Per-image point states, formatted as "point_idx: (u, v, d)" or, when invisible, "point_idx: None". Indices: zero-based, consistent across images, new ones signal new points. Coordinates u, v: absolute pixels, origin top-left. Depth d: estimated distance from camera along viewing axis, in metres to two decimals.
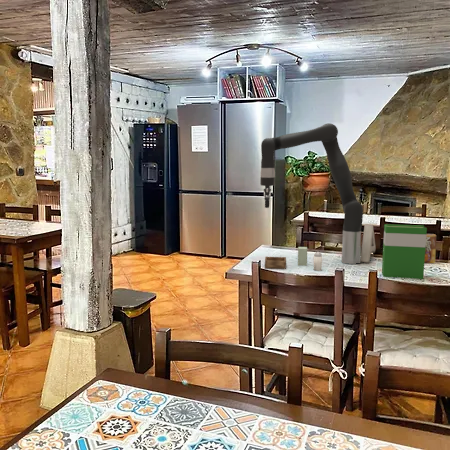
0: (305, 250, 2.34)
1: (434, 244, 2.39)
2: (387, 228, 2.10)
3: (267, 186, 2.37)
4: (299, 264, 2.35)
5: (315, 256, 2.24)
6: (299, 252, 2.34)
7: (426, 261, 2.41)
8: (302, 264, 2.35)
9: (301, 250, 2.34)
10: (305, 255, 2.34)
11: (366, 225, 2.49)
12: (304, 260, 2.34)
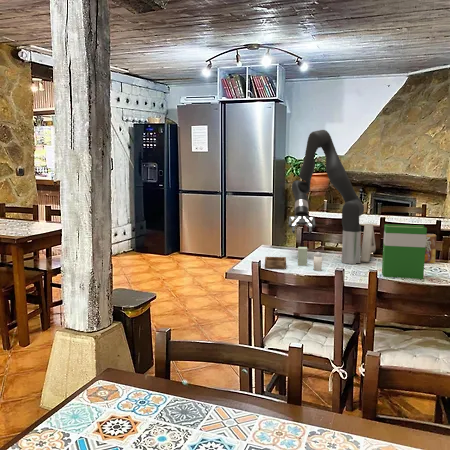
0: (305, 250, 2.34)
1: (434, 244, 2.39)
2: (387, 228, 2.10)
3: None
4: (299, 264, 2.35)
5: (315, 256, 2.24)
6: (299, 252, 2.34)
7: (426, 261, 2.41)
8: (302, 264, 2.35)
9: (301, 250, 2.34)
10: (305, 255, 2.34)
11: (366, 225, 2.50)
12: (304, 260, 2.34)
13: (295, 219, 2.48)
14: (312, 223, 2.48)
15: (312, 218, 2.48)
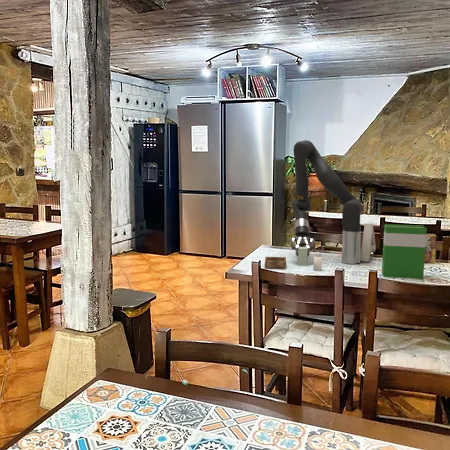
0: (305, 250, 2.34)
1: (434, 244, 2.39)
2: (387, 228, 2.10)
3: (295, 236, 2.43)
4: (299, 264, 2.35)
5: (315, 256, 2.24)
6: (299, 252, 2.34)
7: (426, 261, 2.41)
8: (302, 264, 2.35)
9: (301, 250, 2.34)
10: (305, 255, 2.34)
11: (366, 225, 2.50)
12: (304, 260, 2.34)
13: (296, 239, 2.40)
14: None
15: (312, 240, 2.39)
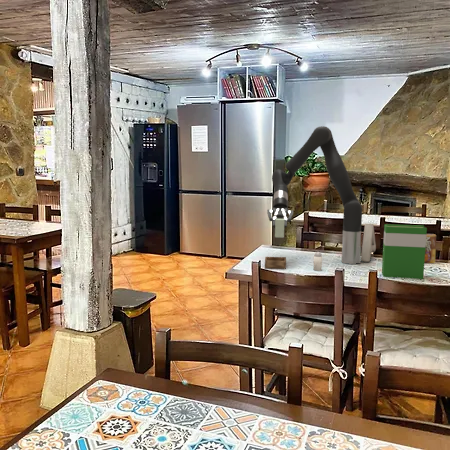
0: (282, 221, 2.28)
1: (434, 244, 2.39)
2: (387, 228, 2.10)
3: (273, 208, 2.37)
4: (276, 236, 2.30)
5: (315, 256, 2.24)
6: (276, 223, 2.29)
7: (426, 261, 2.41)
8: (279, 236, 2.30)
9: (278, 221, 2.28)
10: (282, 226, 2.29)
11: (366, 224, 2.51)
12: (281, 232, 2.29)
13: (274, 211, 2.35)
14: None
15: (290, 212, 2.34)
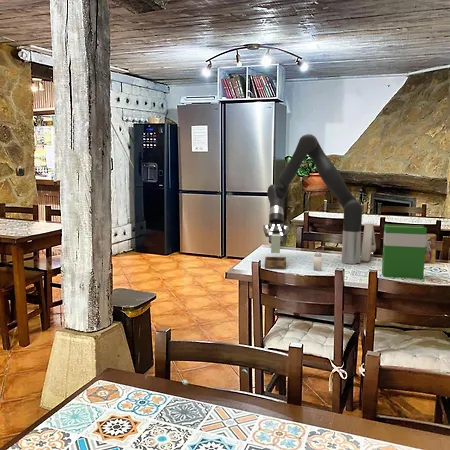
0: (278, 237, 2.28)
1: (434, 244, 2.39)
2: (387, 228, 2.10)
3: None
4: (272, 251, 2.30)
5: (315, 256, 2.24)
6: (272, 239, 2.29)
7: (426, 261, 2.41)
8: (275, 252, 2.29)
9: (274, 237, 2.28)
10: (278, 242, 2.29)
11: (366, 224, 2.51)
12: (277, 247, 2.29)
13: (270, 227, 2.35)
14: (285, 232, 2.34)
15: (286, 227, 2.34)
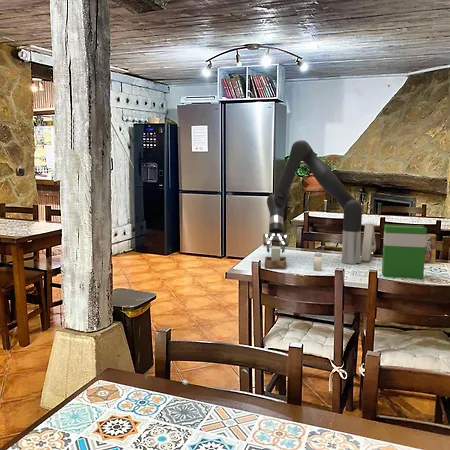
0: (278, 250, 2.29)
1: (434, 244, 2.39)
2: (387, 228, 2.10)
3: None
4: None
5: (315, 256, 2.24)
6: (272, 252, 2.30)
7: (426, 261, 2.41)
8: None
9: (274, 250, 2.29)
10: (278, 255, 2.30)
11: (366, 224, 2.51)
12: (277, 260, 2.30)
13: (269, 236, 2.36)
14: None
15: (286, 236, 2.35)
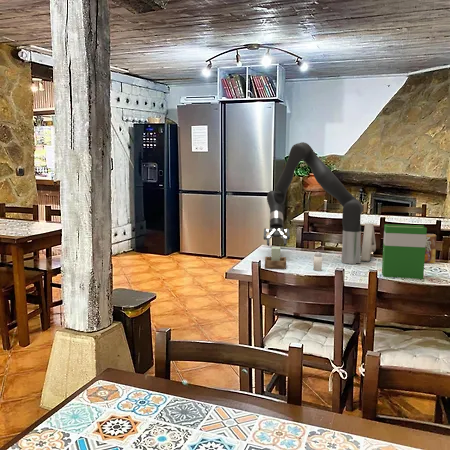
0: (278, 250, 2.29)
1: (434, 244, 2.39)
2: (387, 228, 2.10)
3: None
4: None
5: (315, 256, 2.24)
6: (272, 252, 2.30)
7: (426, 261, 2.41)
8: None
9: (274, 250, 2.29)
10: (278, 255, 2.30)
11: (366, 224, 2.52)
12: (277, 260, 2.30)
13: (270, 231, 2.48)
14: (287, 235, 2.48)
15: (287, 230, 2.47)
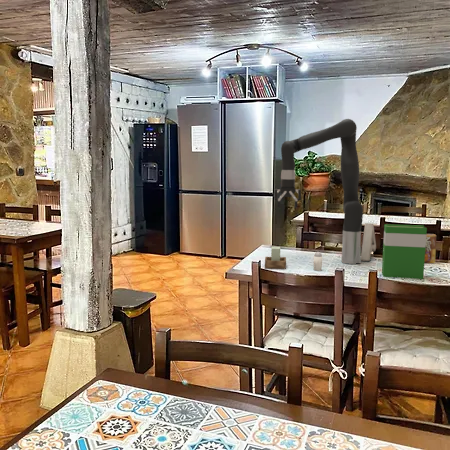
0: (278, 250, 2.29)
1: (434, 244, 2.39)
2: (387, 228, 2.10)
3: None
4: None
5: (315, 256, 2.24)
6: (272, 252, 2.30)
7: (426, 261, 2.41)
8: None
9: (274, 250, 2.29)
10: (278, 255, 2.30)
11: (366, 224, 2.52)
12: (277, 260, 2.30)
13: (281, 192, 2.46)
14: (298, 195, 2.46)
15: (298, 191, 2.44)
